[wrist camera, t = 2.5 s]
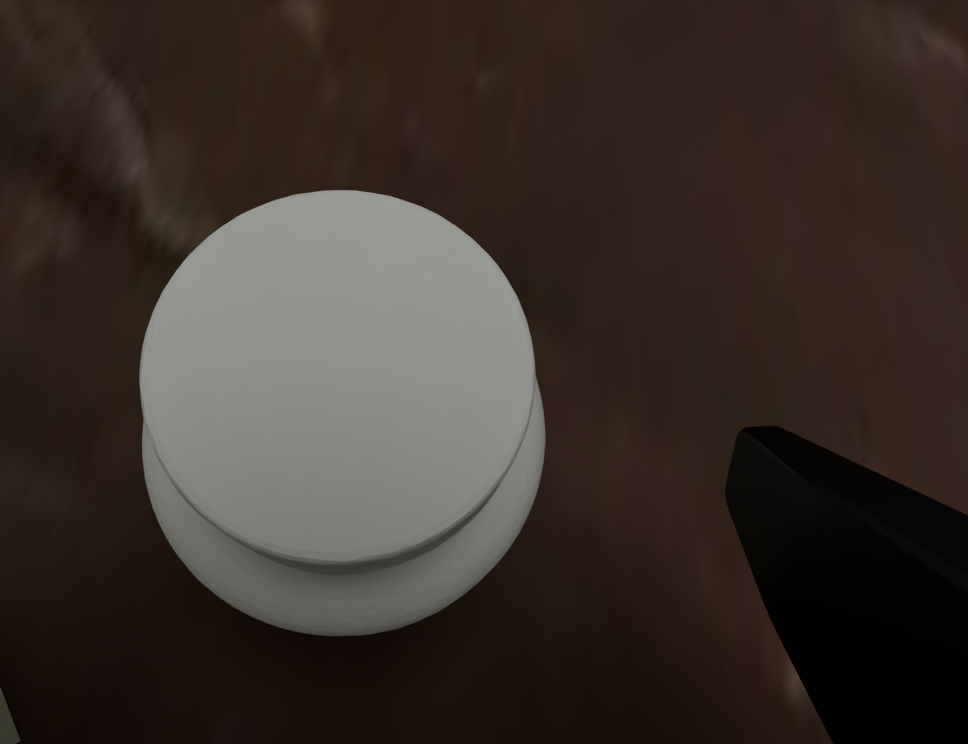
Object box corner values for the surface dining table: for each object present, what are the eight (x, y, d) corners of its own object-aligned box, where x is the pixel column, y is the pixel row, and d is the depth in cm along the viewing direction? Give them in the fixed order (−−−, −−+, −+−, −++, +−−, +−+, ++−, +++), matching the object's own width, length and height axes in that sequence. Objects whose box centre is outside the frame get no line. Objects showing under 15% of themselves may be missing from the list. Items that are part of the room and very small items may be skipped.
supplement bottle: (200, 421, 17) (0, 196, 8) (435, 348, 18) (496, 80, 9) (271, 669, 16) (132, 742, 7) (519, 574, 17) (685, 527, 8)
